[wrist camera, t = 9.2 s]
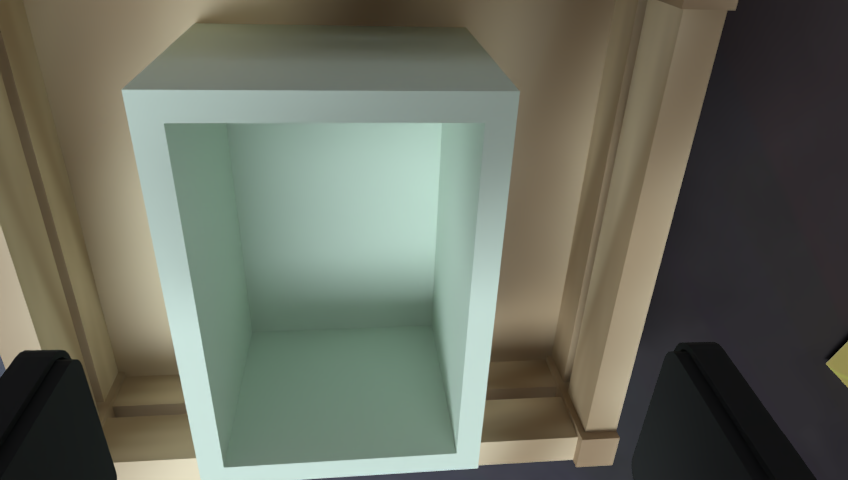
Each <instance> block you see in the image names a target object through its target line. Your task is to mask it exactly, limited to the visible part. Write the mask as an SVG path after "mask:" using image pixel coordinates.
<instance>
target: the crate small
mask: <svg viewBox="0 0 848 480" xmlns="http://www.w3.org/2000/svg"><path fill="white" fill-rule="evenodd" d="M122 95H123V100H124V105H125V110H126V115H127V120H128V125H129V130H130V134H131V139H132V144H133V149H134V154H135V159H136V164H137V169H138V174H139V179H140V184H141V189H142V193H143V198H144V203H145V208H146V213H147V218H148V223H149V228H150V233H151V238H152V243H153V248H154V252H155V257H156V262H157V267H158V272H159V277H160V282H161V287H162V292H163V297H164V302H165V307H166V311H167V316H168V321H169V326H170V331H171V336H172V341H173V346H174V351H175V356H176V361H177V365H178V370H179V375H180V380H181V385H182V390H183V395H184V400H185V405H186V410H187V415H188V420H189V424H190V429H191V434H192V439H193V444H194V449H195V454H196V459H197V464H198V469H199V474H200V479H201V480H301V479H317V478H333V477H348V476H364V475H380V474H395V473H411V472H427V471H442V470H458V469H474V468H478V463H479V454H480V445H481V436H482V427H483V418H484V409H485V400H486V391H487V382H488V373H489V364H490V355H491V346H492V337H493V328H494V319H495V311H496V302H497V293H498V284H499V275H500V266H501V257H502V248H503V239H504V230H505V221H506V212H507V203H508V194H509V185H510V176H511V167H512V158H513V150H514V141H515V132H516V123H517V114H518V105H519V96H520V91H519V90H518V88H517V87H516V86H515V85H514V84H513V83H512V81H511V80H510V79H509V78H508V77H507V75H506V74H505V73H504V72H503V71H502V70H501V68H500V67H499V66H498V65H497V64H496V62H495V61H494V60H493V59H492V58H491V57H490V55H489V54H488V53H487V52H486V51H485V49H484V48H483V47H482V46H481V45H480V44H479V42H478V41H477V40H476V39H475V38H474V36H473V35H472V34H471V33H470V32H469V31H468V29H467V28H466V27H404V26H341V25H278V24H215V23H194V24H193V25H192V26H191V27H190V28H189V29H188V30H187V31H185V32H184V33H183V34H182V35H181V36H180V37H179V38H178V39H177V40H176V41H174V42H173V43H172V44H171V45H170V46H169V47H168V48H167V49H166V50H165V51H163V52H162V53H161V54H160V55H159V56H158V57H157V58H156V59H155V60H154V61H152V62H151V63H150V64H149V65H148V66H147V67H146V68H145V69H144V70H143V71H141V72H140V73H139V74H138V75H137V76H136V77H135V78H134V79H133V80H132V81H130V82H129V83H128V84H127V85H126V86H125V87H124V88H123V89H122Z"/></svg>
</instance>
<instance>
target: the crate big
mask: <svg viewBox="0 0 848 480" xmlns="http://www.w3.org/2000/svg"><path fill="white" fill-rule="evenodd" d="M737 3H738V0H0V355H1V358H2V360H3V363H4V366H5V369H7V368H8V367H9V365H10V364H11V363H12V361H13V360H14V358H15V357H16V356H17V355H18V354H19V353H20V352H22V351H24V350H65V351H67V352H68V353H69V355H70V357H71V359H78V360H79V361H80V362H81V364H82V366H83V369H84V372H85V375H86V378H87V381H88V385H89V388H90V391H91V394H92V397H93V400H94V404H95V407H96V410H97V413H98V416H99V419H100V422H101V426H102V429H103V432H104V435H105V438H106V441H107V445H108V448H109V451H110V454H111V457H112V460H113V463H114V467H115V470H116V474H117V480H201V479H200V474H199V469H198V464H197V459H196V454H195V449H194V444H193V439H192V434H191V429H190V424H189V420H188V415H187V410H186V405H185V400H184V395H183V390H182V385H181V380H180V375H179V370H178V365H177V361H176V356H175V351H174V346H173V341H172V336H171V331H170V326H169V321H168V316H167V311H166V307H165V302H164V297H163V292H162V287H161V282H160V277H159V272H158V267H157V262H156V257H155V252H154V248H153V243H152V238H151V233H150V228H149V223H148V218H147V213H146V208H145V203H144V198H143V193H142V189H141V184H140V179H139V174H138V169H137V164H136V159H135V154H134V149H133V144H132V139H131V134H130V130H129V125H128V120H127V115H126V110H125V105H124V100H123V95H122V89H123V88H124V87H125V86H126V85H127V84H128V83H129V82H130V81H132V80H133V79H134V78H135V77H136V76H137V75H138V74H139V73H140V72H141V71H143V70H144V69H145V68H146V67H147V66H148V65H149V64H150V63H151V62H152V61H154V60H155V59H156V58H157V57H158V56H159V55H160V54H161V53H162V52H163V51H165V50H166V49H167V48H168V47H169V46H170V45H171V44H172V43H173V42H174V41H176V40H177V39H178V38H179V37H180V36H181V35H182V34H183V33H184V32H185V31H187V30H188V29H189V28H190V27H191V26H192V25H193V24H194V23H215V24H278V25H341V26H404V27H466V28H467V29H468V31H469V32H470V33H471V34H472V35H473V36H474V38H475V39H476V40H477V41H478V42H479V44H480V45H481V46H482V47H483V48H484V49H485V51H486V52H487V53H488V54H489V55H490V57H491V58H492V59H493V60H494V61H495V62H496V64H497V65H498V66H499V67H500V68H501V70H502V71H503V72H504V73H505V74H506V75H507V77H508V78H509V79H510V80H511V81H512V83H513V84H514V85H515V86H516V87H517V88H518V90H519V91H520V96H519V105H518V114H517V123H516V132H515V141H514V150H513V158H512V167H511V176H510V185H509V194H508V203H507V212H506V221H505V230H504V239H503V248H502V257H501V266H500V275H499V284H498V293H497V302H496V311H495V319H494V328H493V337H492V346H491V355H490V364H489V373H488V382H487V391H486V400H485V409H484V418H483V427H482V436H481V445H480V454H479V463H478V465H491V464H508V463H525V462H542V461H559V460H573V461H574V463H575V466H576V467H587V466H604V465H613V461H614V457H615V453H616V450H617V446H618V442H619V439H620V438H619V436H618V434H617V432H616V429H617V425H618V422H619V418H620V414H621V410H622V406H623V403H624V399H625V395H626V391H627V388H628V384H629V380H630V376H631V372H632V369H633V365H634V361H635V357H636V354H637V350H638V346H639V342H640V338H641V335H642V331H643V327H644V323H645V320H646V316H647V312H648V308H649V305H650V301H651V297H652V293H653V289H654V286H655V282H656V278H657V274H658V271H659V267H660V263H661V259H662V255H663V252H664V248H665V244H666V240H667V237H668V233H669V229H670V225H671V221H672V218H673V214H674V210H675V206H676V203H677V199H678V195H679V191H680V188H681V184H682V180H683V176H684V172H685V169H686V165H687V161H688V157H689V154H690V150H691V146H692V142H693V138H694V135H695V131H696V127H697V123H698V120H699V116H700V112H701V108H702V104H703V101H704V97H705V93H706V89H707V86H708V82H709V78H710V74H711V71H712V67H713V63H714V59H715V55H716V52H717V48H718V44H719V40H720V37H721V33H722V29H723V25H724V21H725V18H726V14H727V10H734V11H736V7H737Z"/></svg>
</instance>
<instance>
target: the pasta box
mask: <svg viewBox="0 0 848 480" xmlns="http://www.w3.org/2000/svg"><path fill="white" fill-rule="evenodd" d="M826 365H827V366H828V367H829V368H830V369H831V370H832V371H833V372H834V373H835V374H836V375H837V376H838V377H839V378H840V380H841V381H842V382H843V383H844V384H845V385H846V386H847V387H848V342H847V343H846V344H845V345H844V346H843V347H842V348H841V349H840V350H839V351H838V352H837V353H836V354H835V355H834V356H833V357H832V358H831V359H830V360H829V361H828V362H827V363H826Z"/></svg>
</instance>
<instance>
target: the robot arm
mask: <svg viewBox="0 0 848 480" xmlns="http://www.w3.org/2000/svg"><path fill="white" fill-rule="evenodd" d="M632 474H633V479H634V480H817V479H816V478H815V477H814V475H813V474H812V472H811V471H810V470H809V468H808V467H807V465H806V464H805V462H804V461H803V460H802V458H801V457H800V455H799V454H798V453H797V451H796V450H795V448H794V447H793V446H792V444H791V443H790V441H789V440H788V439H787V437H786V436H785V435H784V434H783V432H782V431H781V430H780V428H779V427H778V425H777V424H776V423H775V421H774V420H773V418H772V417H771V415H770V414H769V413H768V411H767V410H766V408H765V407H764V406H763V404H762V403H761V401H760V400H759V399H758V397H757V396H756V394H755V393H754V392H753V390H752V389H751V387H750V386H749V385H748V383H747V382H746V380H745V379H744V378H743V376H742V375H741V373H740V372H739V371H738V369H737V368H736V366H735V365H734V364H733V362H732V361H731V359H730V358H729V357H728V355H727V354H726V352H725V351H724V350H723V348H722V347H721V346H720V345H719V344H717V343H715V342H692V343H679V344H678V345H677V346H676V348H675V350H674V352H668V353H667V354H666V356H665V358H664V361H663V365H662V368H661V371H660V374H659V377H658V380H657V383H656V386H655V389H654V393H653V396H652V399H651V402H650V405H649V408H648V411H647V414H646V417H645V420H644V424H643V427H642V430H641V433H640V436H639V439H638V442H637V445H636V448H635V452H634V455H633V458H632ZM0 480H117V474H116V470H115V467H114V463H113V460H112V457H111V454H110V451H109V448H108V445H107V441H106V438H105V435H104V432H103V429H102V426H101V422H100V419H99V416H98V413H97V410H96V407H95V404H94V400H93V397H92V394H91V391H90V388H89V385H88V381H87V378H86V375H85V372H84V369H83V366H82V364H81V362H80V361H79V360H78V359H71V357H70V355H69V353H68V352H67V351H65V350H24V351H22V352H20V353H19V354H18V355H17V356H16V357H15V358H14V360H13V361H12V363H11V364H10V365H9V367H8V368H7V369H6V371H5V372H4V374H3V375H2V376H1V378H0Z"/></svg>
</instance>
